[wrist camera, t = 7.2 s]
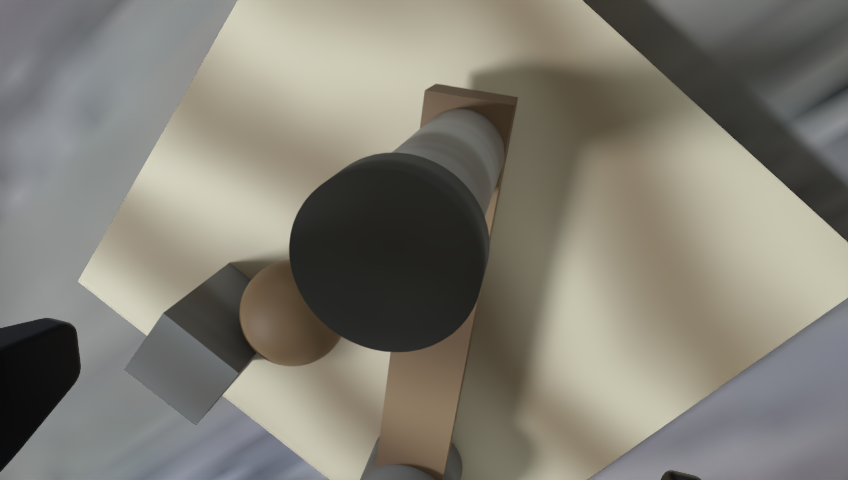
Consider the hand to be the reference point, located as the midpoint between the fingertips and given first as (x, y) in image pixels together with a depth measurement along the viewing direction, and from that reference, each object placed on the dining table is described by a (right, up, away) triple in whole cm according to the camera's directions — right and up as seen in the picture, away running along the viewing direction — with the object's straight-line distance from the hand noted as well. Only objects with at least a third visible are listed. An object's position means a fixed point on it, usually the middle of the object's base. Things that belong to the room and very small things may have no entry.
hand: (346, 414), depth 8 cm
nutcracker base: (+1, +2, +13) cm, 13 cm away
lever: (+2, 0, +12) cm, 12 cm away
